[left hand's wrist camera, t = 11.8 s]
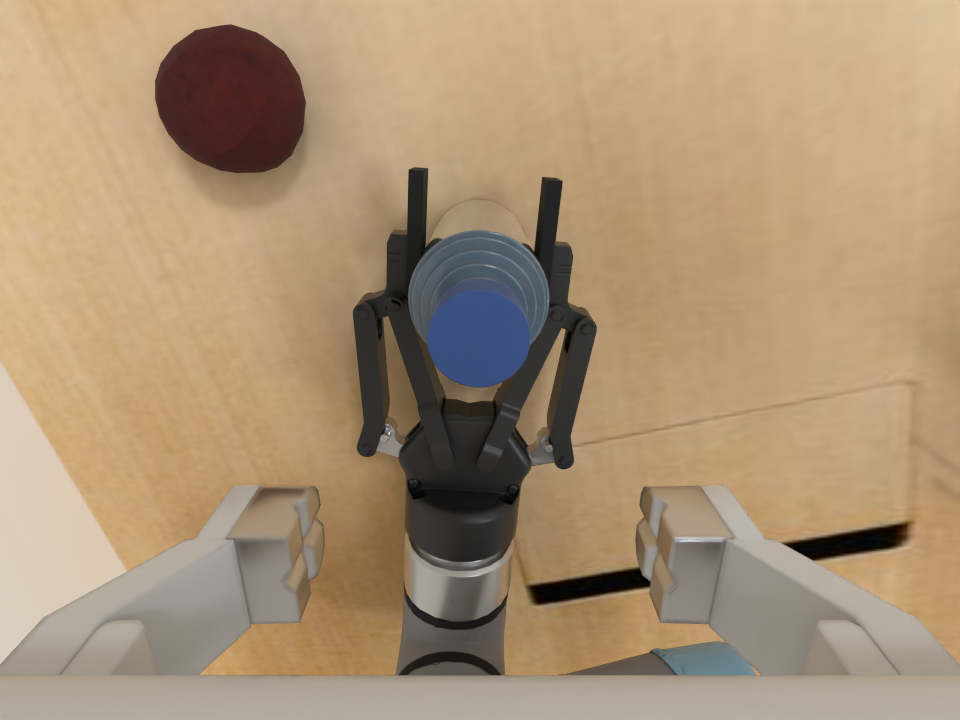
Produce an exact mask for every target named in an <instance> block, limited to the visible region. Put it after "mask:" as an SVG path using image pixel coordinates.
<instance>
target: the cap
mask: <svg viewBox="0 0 960 720" xmlns="http://www.w3.org/2000/svg"><path fill="white" fill-rule="evenodd" d="M427 344H428V350H429V353H430V356H431V358H432V360H433V362H434V364H435V365H436V367H437V368H438V369H439V370H440V371H441V372H442V373H443V374H444V375H445V376H446V377H448V378H449V379H451V380H453V381H454V382H457V383H459V384H461V385H465V386H470V387H488V386H492V385H496V384H499V383H501V382H503V381H505V380H507V379H508V378H510V377H511V376H512V375H513V374H515V373H516V372H517V371H518V370H519V368H520V367H521V366H522V364H523V363H524V361H525V359H526V357H527V354H528V352H529V347H530V330H529V325H528V322H527V318H526V314H525V311H524V308H523V306H522V304H521V302H520V300H519V299H518V298H517V296H516V295H515V294H514V293H513V292H512V291H511V290H509V289H508V288H507V287H505V286H503V285H502V284H500V283H497V282H495V281H491V280H486V279H471V280H466V281H463V282H460V283H458V284H456V285H454V286H452V287H451V288H449V289H448V290H447V291H446V292H445V293H444V294H443V295H442V296H441V297H440V298H439V300H438V301H437V303H436V305H435V307H434V309H433V313H432V316H431V320H430V324H429V327H428V333H427Z"/></svg>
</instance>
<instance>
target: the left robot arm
mask: <svg viewBox="0 0 960 720" xmlns="http://www.w3.org/2000/svg"><path fill="white" fill-rule="evenodd" d="M319 508H320V499H319V493H318V490H317V488H316V487H315V486H288V485H263V486H262V485H237V486H234V487H232V488H231V489H230V491H229V492H228V493H227V495H226V496H225V498H224V499H223V500H222V502H221V503H220V504H219V506H218V507H217V509H216V510H215V511H214V513H213V514H212V515H211V517H210V518H209V520H208V521H207V522H206V524H205V525H204V526H203V528H202V529H201V531H200V532H199V533H198V535H197V536H196V538H195V539H186V540H184V541H182V542H180V543H178V544H177V545H175V546H173V547H171V548H169V549H168V550H166V551H164V552H162V553H160V554H158V555H157V556H155V557H153V558H151V559H149V560H148V561H146V562H144V563H142V564H140V565H138V566H137V567H135V568H133V569H131V570H129V571H127V572H126V573H124V574H122V575H120V576H118V577H117V578H115V579H113V580H111V581H109V582H108V583H106V584H104V585H102V586H100V587H98V588H97V589H95V590H93V591H91V592H89V593H87V594H86V595H84V596H82V597H80V598H78V599H76V600H75V601H73V602H71V603H69V604H67V605H66V606H64V607H62V608H60V609H58V610H56V611H55V612H53V613H51V614H49V615H47V616H45V617H44V618H43V619H42V620H41V621H40V622H39V623H38V624H37V625H36V626H35V627H34V628H33V630H32V631H31V632H30V633H29V634H28V635H27V636H26V637H25V638H24V639H23V640H22V642H21V643H20V644H19V645H18V646H17V647H16V648H15V649H14V650H13V651H12V652H11V653H10V655H9V656H8V657H7V658H6V659H5V660H4V661H3V662H2V663H1V664H0V720H960V664H959V663H958V662H957V661H956V660H955V659H954V658H953V657H952V655H951V654H950V653H949V652H948V651H947V650H946V649H945V648H944V647H943V646H942V645H941V643H940V642H939V641H938V640H937V639H936V638H935V637H934V636H933V635H932V634H931V633H930V631H929V630H928V629H927V628H926V627H925V626H924V625H923V624H922V623H921V622H920V621H919V619H918V618H916V617H914V616H912V615H910V614H909V613H907V612H905V611H903V610H901V609H900V608H898V607H896V606H894V605H892V604H890V603H889V602H887V601H885V600H883V599H881V598H880V597H878V596H876V595H874V594H872V593H870V592H869V591H867V590H865V589H863V588H861V587H860V586H858V585H856V584H854V583H852V582H850V581H849V580H847V579H845V578H843V577H841V576H840V575H838V574H836V573H834V572H832V571H831V570H829V569H827V568H825V567H823V566H821V565H820V564H818V563H816V562H814V561H812V560H811V559H809V558H807V557H805V556H803V555H801V554H800V553H798V552H796V551H794V550H792V549H791V548H789V547H787V546H785V545H783V544H781V543H780V542H778V541H776V540H774V539H765V538H764V536H763V535H762V533H761V532H760V531H759V529H758V528H757V527H756V525H755V524H754V523H753V521H752V520H751V518H750V517H749V516H748V514H747V513H746V512H745V510H744V509H743V507H742V506H741V505H740V503H739V502H738V501H737V499H736V498H735V496H734V495H733V494H732V492H731V491H730V490H729V488H728V487H726V486H724V485H696V486H661V487H643V490H642V493H641V498H640V508H641V510H642V512H643V515H644V518H643V519H642V520H641V521H640V522H639V523H638V524H637V530H636V554H637V559H638V563H639V567H640V570H641V572H642V575H643V576H644V577H645V578H647V579H648V580H649V581H651V585H650V593H649V594H650V597H651V599H652V602H653V604H654V607H655V610H656V612H657V615H658V617H659V620H660V623H687V624H709V627H710V628H711V629H712V630H713V631H715V632H716V633H717V634H718V635H719V636H720V637H721V638H722V639H723V640H724V641H725V642H726V643H728V644H729V645H730V646H731V647H732V648H733V649H734V650H735V651H736V652H737V653H738V654H739V655H741V656H742V657H743V658H744V659H745V660H746V661H747V662H748V663H749V664H750V665H751V666H752V667H754V668H755V669H756V670H757V671H758V672H759V673H760V674H761V675H199V674H200V673H201V672H202V671H203V670H204V669H206V668H207V667H208V666H209V665H210V664H211V663H212V662H213V661H214V660H215V659H216V658H218V657H219V656H220V655H221V654H222V653H223V652H224V651H225V650H226V649H227V648H228V647H229V646H231V645H232V644H233V643H234V642H235V641H236V640H237V639H238V638H239V637H240V636H241V635H242V634H244V633H245V632H246V631H247V630H248V629H249V628H250V627H251V625H250V624H272V623H300V620H301V617H302V615H303V612H304V610H305V607H306V604H307V602H308V599H309V596H310V594H311V593H310V586H309V581H311V580H312V579H313V578H315V577H316V576H317V575H318V572H319V569H320V567H321V564H322V558H323V552H324V529H323V524H322V523H321V522H320V521H319V520H318V519H317V518H316V515H317V512H318V510H319Z"/></svg>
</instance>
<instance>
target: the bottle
mask: <svg viewBox="0 0 960 720" xmlns="http://www.w3.org/2000/svg"><path fill="white" fill-rule="evenodd" d="M471 279H486V280H491V281H495V282H497V283H500V284H502V285H503V286H505V287H507V288H508V289H509V290H511V291H512V292H513V293H514V294H515V295H516V296H517V298H518V299H519V300H520V302H521V304H522V306H523V308H524V311H525V314H526V318H527V322H528V325H529V330H530V345H531V344H532V343H533V342H534V340H535V339H536V338H537V336H538V335H539V333H540V332H541V330H542V328H543V326H544V323H545V320H546V318H547V314H548V309H549V288H548V283H547V279H546V276H545V274H544V271H543V269H542V267H541V265H540V263H539V261H538V259H537V257H536V255H535V253H534V251H533V249H532V247H531V245H530V243H529V241H528V239H527V237H526V235H525V233H524V231H523V229H522V227H521V225H520V223H519V221H518V220H517V218H516V217H515V216H514V215H513V214H512V213H511V212H510V211H509V210H508V209H507V208H505V207H504V206H502V205H500V204H498V203H496V202H492V201H489V200H480V199H476V200H469V201H465V202H462V203H460V204H458V205H456V206H454V207H453V208H451V209H450V210H449V211H448V212H447V213H446V214H445V215H444V216H443V217H442V218H441V220H440V221H439V223H438V224H437V226H436V228H435V230H434V232H433V234H432V236H431V238H430V240H429V242H428V244H427V246H426V248H425V250H424V252H423V254H422V256H421V258H420V260H419V262H418V264H417V266H416V268H415V270H414V273H413V275H412V278H411V282H410V286H409V294H408V304H409V311H410V315H411V319H412V322H413V324H414V326H415V329H416V330H417V332H418V334H419V335H420V337H421V338H422V339H423V341H424V342H425V343H426V344H427V333H428V327H429V324H430V320H431V316H432V313H433V309H434V307H435V305H436V303H437V301H438V300H439V298H440V297H441V296H442V295H443V294H444V293H445V292H446V291H447V290H448V289H449V288H451V287H452V286H454V285H456V284H458V283H460V282H463V281H466V280H471ZM427 345H428V344H427Z"/></svg>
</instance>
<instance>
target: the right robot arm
mask: <svg viewBox="0 0 960 720" xmlns="http://www.w3.org/2000/svg"><path fill="white" fill-rule="evenodd" d="M562 182H563V181H561V180H559V179H557V178H550V177H542V185H541V194H540V204H539V213H538V222H537V231H536V241H535V250H534V253H535V255H536V257H537V259H538V261H539V263H540V265H541V267H542V269H543V271H544V274H545V276H546V279H547V283H548V288H549V309H548V314H547V318H546V320H545V323H544V326H543V328H542V330H541V332H540V333H539V335H538V336H537V338H536V339H535V340H534V342H533V343H532V344H531V345H530V347H529V352H528V354H527V357H526V359H525V361H524V363H523V364H522V366H521V367H520V368H519V370H518V371H517V372H516V373H515V374H513V375H512V376H511V377H510V378H508V379H507V380H505V381H503V383H502V385H501V387H500V388H498V390H497V392H496V394H495V396H494V398H493V400H492V402H488V401H479V402H474V403H467V402H463V401H460V400H457V399H446V396H445V393H444V390H443V387H442V384H441V383H440V382H439V378H438V375H437V372H436V369H435V366H434V363H433V360H432V358H431V356H430V353H429V350H428V345H427V344H426V343H425V342H424V341H423V339H422V338H421V337H420V335H419V334H418V332H417V330H416V329H415V326H414V324H413V322H412V319H411V315H410V311H409V304H408V294H409V286H410V282H411V278H412V275H413V273H414V270H415V268H416V266H417V264H418V262H419V260H420V258H421V256H422V254H423V252H424V250H425V245H426V216H427V187H428V168H416V167H414V168H412V169H409V180H408V224H407V231H402V230H394V231H393V232H392V233H391V235H390V237H389V240H388V242H387V286H386V289H384V290H382V291H379V292H376V293H367V294H365V295H364V296H363V297H362V299H361V300H360V301H359V303H358V304H357V305H356V307H355V308H354V310H353V319H354V329H355V338H356V348H357V358H358V368H359V377H360V387H361V397H362V407H363V416H364V425H363V429H362V432H361V435H360V438H359V442H358V445H357V450H358V453H359V454H360V455H362V456H364V457H370V456H373V455H374V454H375V452H376V451H378V452H381V453H385V454H388V455H391V456H395V457H398V458H399V462H400V465H401V466H402V468H403V469H404V471H405V474H406V509H405V527H406V534H405V541H404V606H403V623H402V636H401V645H400V651H399V658H398V664H397V670H396V675H505V666H504V628H505V615H506V602H507V597H508V589H509V585H510V577H511V568H512V559H513V551H514V535H515V532H516V524H517V516H518V507H519V499H520V490H521V484H522V481H523V479H524V478H525V476H526V475H527V474H528V473H529V471H530V469H531V466H535V465H541V464H547V463H553V462H555V464H556V466H557V467H558V468H560V469H567V468H570V467H571V466H572V465H573V463H574V457H573V450H572V444H571V437H570V436H571V432H572V427H573V423H574V419H575V415H576V411H577V407H578V403H579V399H580V395H581V391H582V387H583V383H584V379H585V375H586V371H587V367H588V363H589V359H590V355H591V351H592V347H593V343H594V339H595V335H596V330H597V327H596V324H595V322H594V321H593V319H592V317H591V316H590V314H589V313H588V311H587V310H586V309H585V308H582V307H577V306H574V305H572V304H570V303H569V302H568V291H569V283H570V276H571V268H572V261H573V254H572V250H571V247H570V245H569V244H568V243H567V242H555V240H556V232H557V224H558V215H559V207H560V199H561V191H562ZM386 316H389V319H390V322H391V325H392V328H393V331H394V334H395V337H396V340H397V343H398V346H399V349H400V352H401V355H402V358H403V361H404V364H405V367H406V370H407V373H408V376H409V379H410V382H411V385H412V388H413V391H414V394H415V397H416V400H417V403H418V410H419V415H420V418H421V420H420V421H419V423H418V424H417V425H416V426H415V427H414V428H413V429H412V430H411V432H410V433H409V434H408V435H407V436H406V437H405V438H404V437H401V436H400V435H399V434H398V432H397V424H396V422H395V421H394V419H393V418H392V417H387V416H388V412H389V405H390V404H389V387H388V375H387V363H386V351H385V339H384V326H383V317H386ZM561 328H564V329H566V332H565V336H564V341H563V345H562V350H561V354H560V358H559V363H558V367H557V372H556V376H555V380H554V385H553V389H552V394H551V398H550V403H549V407H548V412H547V427H543V428H542V429H541V430H540V431H539V432H538V434H537V439H536V441H535V442H534V443H533V444H532V445H529V446H528V445H527V444H526V442H525V441H524V439H523V438H522V436H521V435H520V433H519V432H518V430H517V429H516V427H515V426H516V424H517V421H518V419H519V416H520V411H521V409H522V407H523V405H524V402H525V400H526V398H527V396H528V394H529V392H530V390H531V388H532V386H533V384H534V382H535V380H536V378H537V376H538V374H539V372H540V370H541V368H542V366H543V364H544V362H545V360H546V358H547V356H548V354H549V352H550V350H551V348H552V346H553V344H554V342H555V340H556V338H557V336H558V334H559V332H560V330H561ZM562 675H563V674H562ZM565 675H756V674H755V672H754V670H753V669H752V667H751V665H750V664H749V663H748V662H747V661H746V660H745V659H744V658H743V657H742V656H741V655H739V654H738V653H737V652H736V651H735V650H734V649H733V648H732V647H731V646H730V645H729V644H727V643H725V642H718V641H714V642H707V643H701V644H694V645H688V646H682V647H676V648H670V649H663V650H662V649H658V648H656V649H652V650H651V651H650V652H649V653H646V654H642V655H638V656H634V657H631V658H627V659H623V660H619V661H615V662H611V663H607V664H604V665H600V666H596V667H592V668H588V669H584V670H580V671H577V672H573V673H569V674H565Z"/></svg>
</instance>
